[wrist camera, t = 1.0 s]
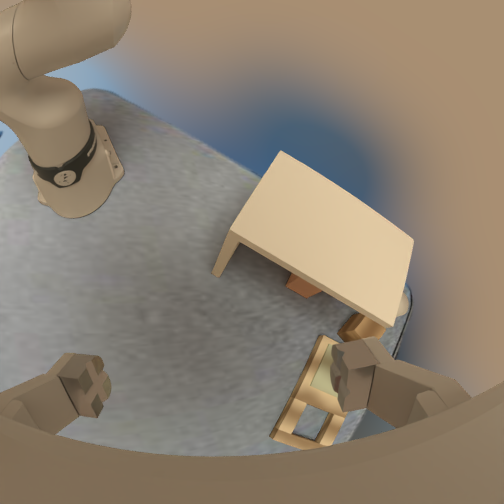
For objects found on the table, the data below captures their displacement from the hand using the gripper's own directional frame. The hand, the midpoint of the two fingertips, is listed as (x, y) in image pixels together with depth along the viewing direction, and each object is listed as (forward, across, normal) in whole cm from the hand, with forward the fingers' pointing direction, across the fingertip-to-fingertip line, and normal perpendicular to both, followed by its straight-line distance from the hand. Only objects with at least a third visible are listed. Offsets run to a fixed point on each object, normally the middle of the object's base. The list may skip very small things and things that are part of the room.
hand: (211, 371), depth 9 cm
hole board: (+30, -12, +31) cm, 45 cm away
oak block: (+38, -20, +23) cm, 48 cm away
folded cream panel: (+41, -8, +11) cm, 44 cm away
